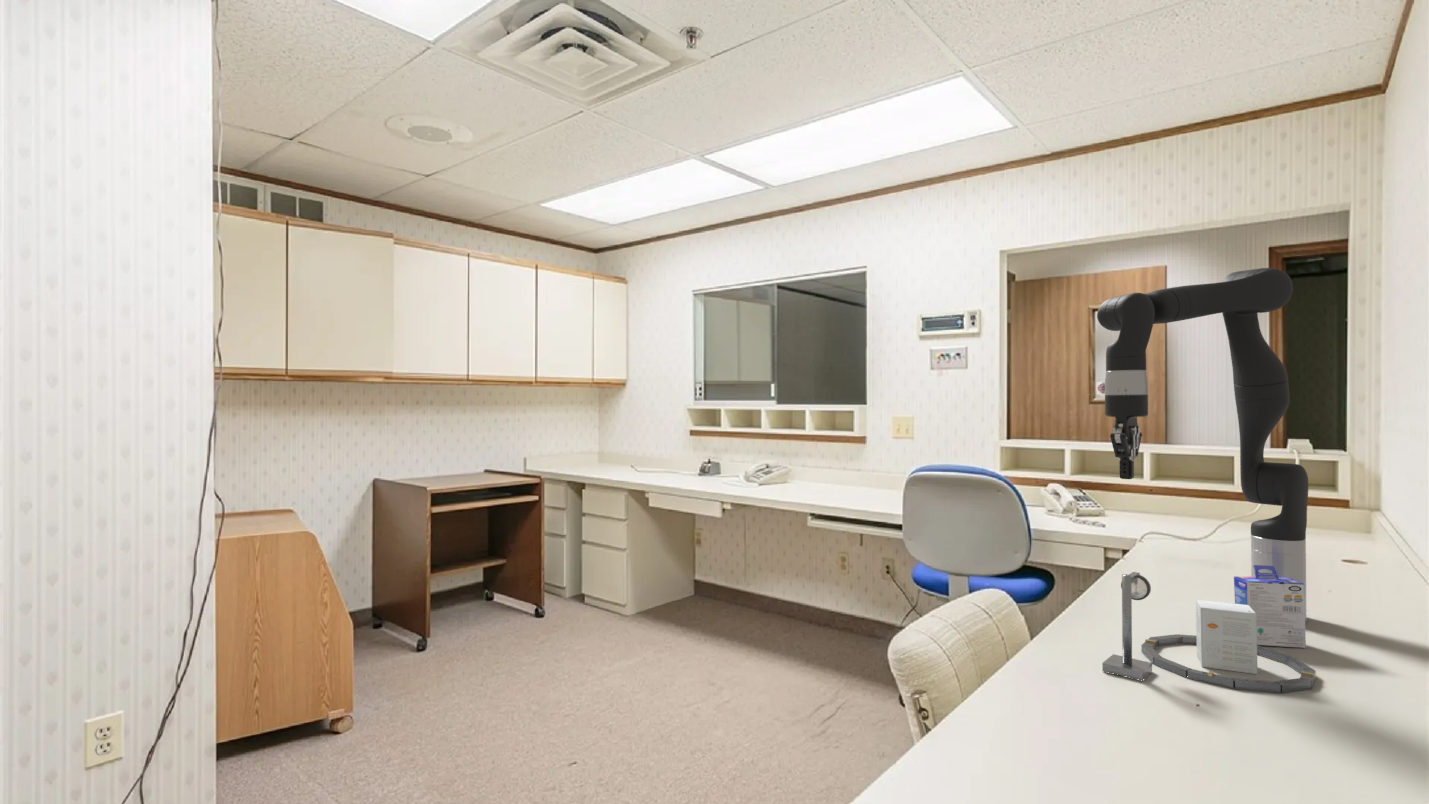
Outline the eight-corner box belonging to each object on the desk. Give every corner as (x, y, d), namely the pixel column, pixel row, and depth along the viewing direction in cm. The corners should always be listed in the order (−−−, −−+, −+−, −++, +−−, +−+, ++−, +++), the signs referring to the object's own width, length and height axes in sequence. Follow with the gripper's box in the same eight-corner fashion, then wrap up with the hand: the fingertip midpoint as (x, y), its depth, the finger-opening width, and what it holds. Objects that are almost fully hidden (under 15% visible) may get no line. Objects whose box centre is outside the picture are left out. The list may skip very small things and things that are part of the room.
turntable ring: (1162, 632, 139) (1162, 625, 139) (1321, 664, 122) (1321, 655, 122) (1127, 664, 122) (1127, 655, 122) (1306, 705, 105) (1306, 695, 105)
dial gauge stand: (1118, 658, 125) (1117, 566, 125) (1156, 667, 120) (1155, 572, 121) (1102, 671, 118) (1101, 575, 119) (1142, 681, 114) (1141, 581, 114)
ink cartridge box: (1290, 639, 135) (1289, 565, 135) (1308, 649, 129) (1307, 571, 129) (1232, 636, 137) (1232, 563, 137) (1248, 645, 131) (1247, 569, 131)
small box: (1250, 664, 122) (1250, 604, 122) (1258, 675, 117) (1257, 613, 117) (1195, 657, 125) (1195, 598, 126) (1200, 667, 121) (1200, 606, 121)
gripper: (1137, 392, 133) (1138, 482, 133) (1156, 393, 142) (1156, 477, 142) (1095, 393, 138) (1095, 480, 138) (1115, 394, 147) (1116, 475, 147)
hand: (1126, 478), depth 140 cm, fingers closed
